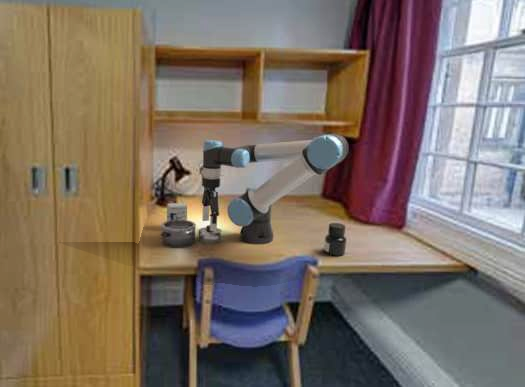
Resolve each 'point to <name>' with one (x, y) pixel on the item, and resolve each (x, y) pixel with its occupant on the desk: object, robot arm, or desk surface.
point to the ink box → (176, 211)
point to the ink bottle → (335, 240)
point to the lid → (209, 235)
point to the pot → (178, 233)
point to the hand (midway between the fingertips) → (209, 225)
